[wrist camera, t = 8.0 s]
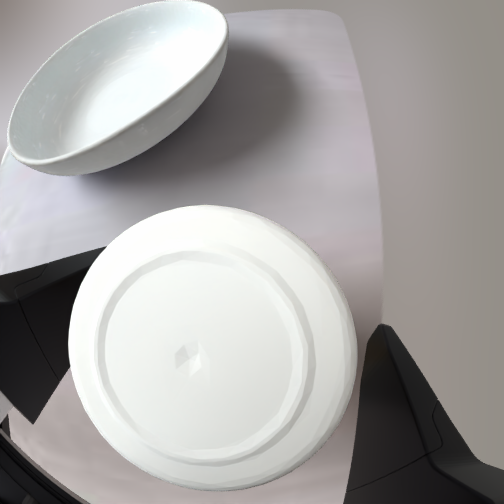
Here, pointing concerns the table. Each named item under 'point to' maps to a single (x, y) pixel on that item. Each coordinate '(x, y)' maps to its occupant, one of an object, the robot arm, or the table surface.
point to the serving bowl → (119, 87)
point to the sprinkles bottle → (212, 348)
